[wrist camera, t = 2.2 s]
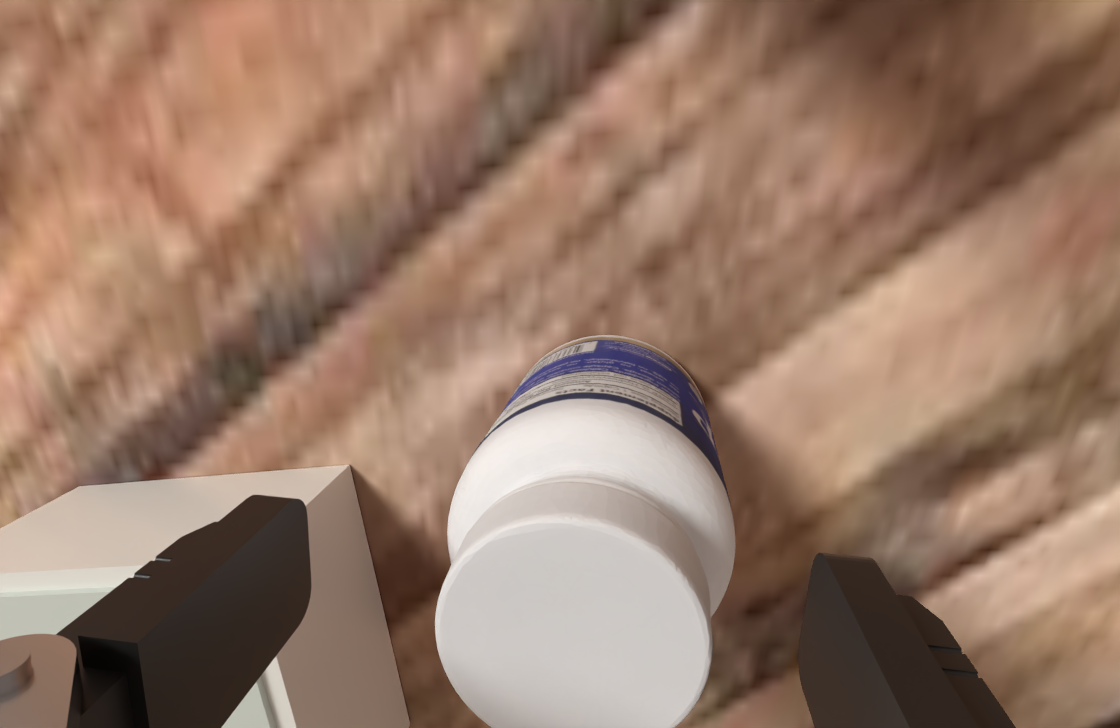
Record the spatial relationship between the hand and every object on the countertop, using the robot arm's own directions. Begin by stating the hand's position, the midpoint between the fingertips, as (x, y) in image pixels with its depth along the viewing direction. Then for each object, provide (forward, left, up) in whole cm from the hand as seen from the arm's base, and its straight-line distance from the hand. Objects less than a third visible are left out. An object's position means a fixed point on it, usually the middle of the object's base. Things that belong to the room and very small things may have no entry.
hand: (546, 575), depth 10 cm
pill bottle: (-1, 0, -8) cm, 8 cm away
